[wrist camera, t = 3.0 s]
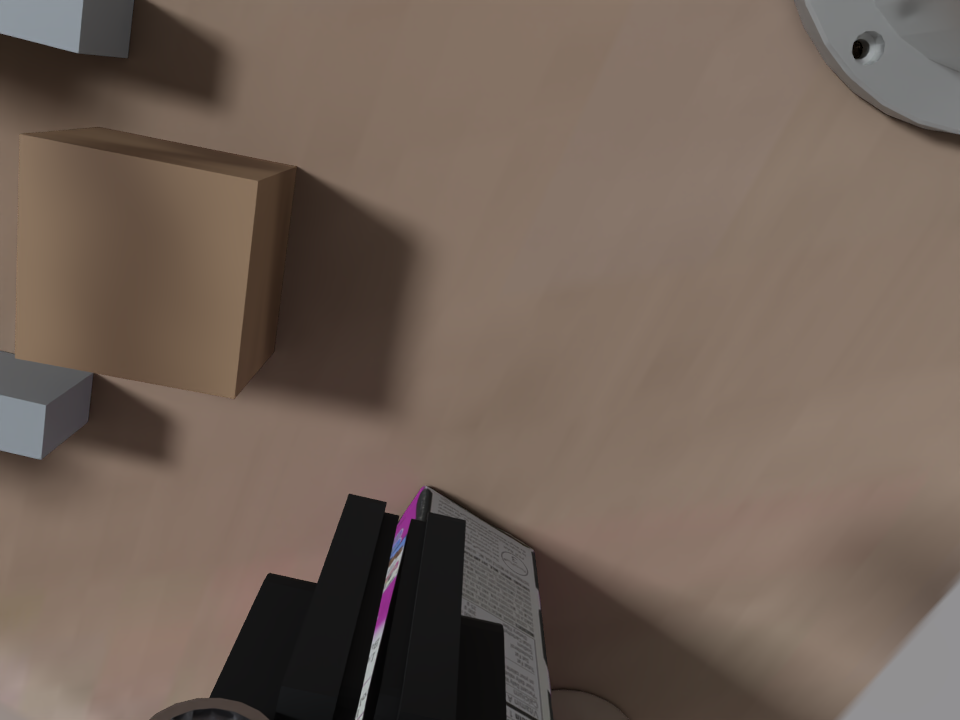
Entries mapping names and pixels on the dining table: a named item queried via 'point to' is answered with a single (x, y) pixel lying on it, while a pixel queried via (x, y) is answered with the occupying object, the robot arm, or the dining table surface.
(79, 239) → the walnut block
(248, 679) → the robot arm
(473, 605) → the milk carton
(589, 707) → the beer glass
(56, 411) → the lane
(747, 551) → the dining table surface
